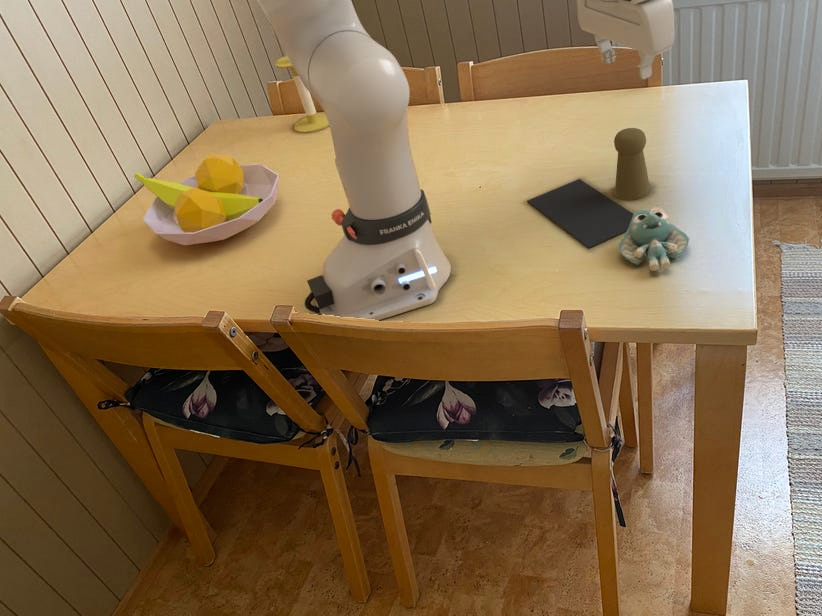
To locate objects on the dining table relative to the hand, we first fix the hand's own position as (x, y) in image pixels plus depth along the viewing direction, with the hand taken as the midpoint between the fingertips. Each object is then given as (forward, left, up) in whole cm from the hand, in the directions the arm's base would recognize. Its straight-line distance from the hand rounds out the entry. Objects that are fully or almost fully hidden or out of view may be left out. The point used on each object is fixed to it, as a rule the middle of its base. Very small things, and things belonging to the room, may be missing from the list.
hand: (625, 69), depth 117 cm
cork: (0, 0, -21) cm, 21 cm away
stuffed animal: (-9, -18, -21) cm, 29 cm away
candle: (-35, +80, -21) cm, 90 cm away
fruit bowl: (-65, +48, -21) cm, 84 cm away
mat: (-10, 0, -21) cm, 23 cm away
